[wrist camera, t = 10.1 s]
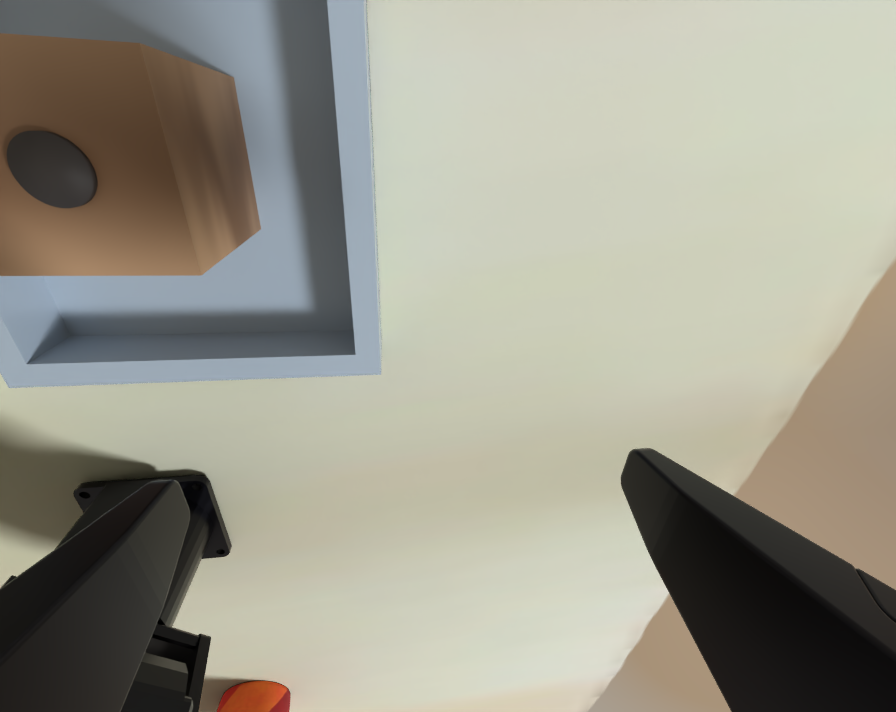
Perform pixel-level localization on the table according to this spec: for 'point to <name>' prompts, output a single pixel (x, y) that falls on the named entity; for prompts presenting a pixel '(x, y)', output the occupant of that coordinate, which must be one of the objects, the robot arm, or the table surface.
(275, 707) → the paper cup
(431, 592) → the table surface
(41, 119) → the walnut block
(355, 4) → the tray
